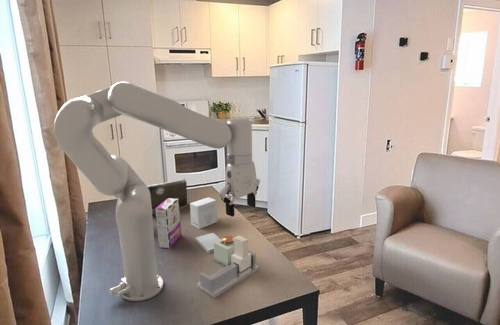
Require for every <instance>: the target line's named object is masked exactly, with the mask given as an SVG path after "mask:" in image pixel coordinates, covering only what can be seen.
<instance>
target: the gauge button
mask: <svg viewBox="0 0 500 325" xmlns="http://www.w3.org/2000/svg"><path fill="white" fill-rule="evenodd" d="M222 238H223V243H224V245H226V246H229V245H231V244H232V241H233V238H234V237H233V236H230V235H226V236H223V237H222Z"/></svg>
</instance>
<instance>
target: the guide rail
mask: <svg viewBox="0 0 500 325" xmlns="http://www.w3.org/2000/svg"><path fill="white" fill-rule="evenodd" d="M248 253H250V254H251V266H250V267H248V268H246V269H245V270H243V271H242V272H240V271H239V264H237V263H233V264H230V265H228V266H227V267H225V266H224V267H223V268H221V269H220V270H218V271H217V272H215V273H213V274H212V275H208V274H207V273H205V272H203V271H202V272H200V273H199V280H200V281H198V282H197V288H199V289H201V290H202V291H203V292H204V293H205V292H206V293H207V294H208V295H209V296H211V297H213V298H214V299H216V298H217V297H219V296H220V295H222V294H224V292H226V291H228V290H230V289H231V288H233V287H234V286H235V285H236V286H237V284H238V283H240V282H242V281H243V280H244V279H246V278H249V276H251V275H253V274H254V273H255V272H257V271H259V270H260V265H258V264H256V263H257V254H256V253H254V252H252V251H250V250H248Z"/></svg>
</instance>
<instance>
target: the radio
mask: <svg viewBox="0 0 500 325" xmlns="http://www.w3.org/2000/svg"><path fill="white" fill-rule="evenodd" d="M146 186H147V187H148V189H149V191H150V194H151V205H152V218H153V217H156V212H155V208H157V207H158V206H159V205H160V204H161V203H163V202H164V201H165V200H166V199H167V198H174V199H179V211H180V210H182V209H183V208H185V207H188V190H187V188H188V186H187V181H186V179H185V178H183V179H178V180H177V179H176V180H173V181H172V180H171V181H167V182H161V183H154V184H150V185H146Z"/></svg>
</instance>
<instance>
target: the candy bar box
mask: <svg viewBox="0 0 500 325" xmlns="http://www.w3.org/2000/svg"><path fill="white" fill-rule="evenodd" d="M155 212H156V216H155V220H156V228H157V229H156V230H157V239H158V248H160V249H161V248H162V249H171V248H172V247H173V246H174V245H175V244H176V242H177V241H178V240H179V239H180V238H181V237H182V227H181V215H180V210H179V199H174V198H167V199H166V200H165V201H164V202H163V203H161V204H160V205H159V206H158V207H157V208H155Z"/></svg>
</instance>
